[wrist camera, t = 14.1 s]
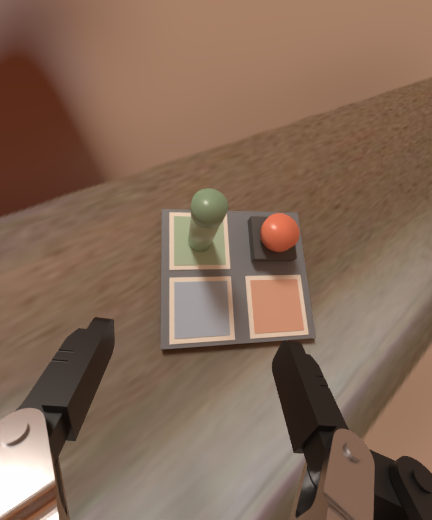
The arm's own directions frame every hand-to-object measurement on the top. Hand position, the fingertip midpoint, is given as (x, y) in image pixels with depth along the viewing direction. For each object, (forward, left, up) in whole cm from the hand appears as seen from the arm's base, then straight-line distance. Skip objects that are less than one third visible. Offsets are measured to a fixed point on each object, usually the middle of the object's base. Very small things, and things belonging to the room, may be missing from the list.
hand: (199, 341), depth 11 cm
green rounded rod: (+2, +11, -17) cm, 21 cm away
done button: (+12, +11, -16) cm, 23 cm away
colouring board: (+7, +6, -18) cm, 21 cm away
